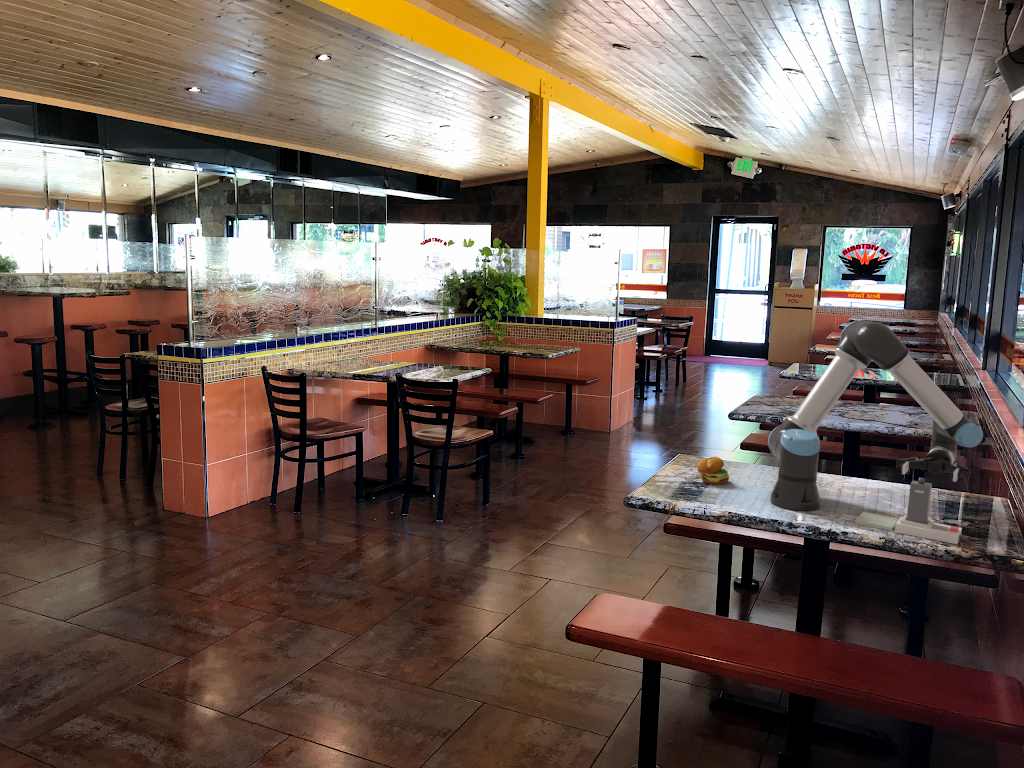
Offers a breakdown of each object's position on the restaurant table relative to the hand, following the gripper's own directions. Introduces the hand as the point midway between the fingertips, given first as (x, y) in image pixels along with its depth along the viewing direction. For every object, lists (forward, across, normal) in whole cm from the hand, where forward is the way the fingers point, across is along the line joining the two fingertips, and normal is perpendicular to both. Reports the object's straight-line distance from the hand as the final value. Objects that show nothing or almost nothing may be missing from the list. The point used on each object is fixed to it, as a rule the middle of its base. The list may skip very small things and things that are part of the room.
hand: (928, 473), depth 235 cm
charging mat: (+8, +12, -15) cm, 21 cm away
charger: (+10, +1, -13) cm, 17 cm away
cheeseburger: (-4, +68, -15) cm, 69 cm away
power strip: (+10, -2, -16) cm, 19 cm away
